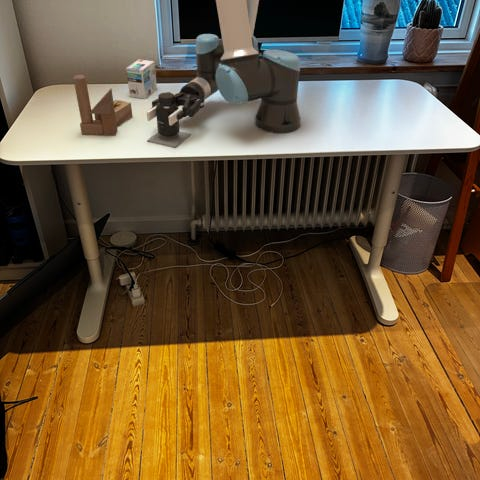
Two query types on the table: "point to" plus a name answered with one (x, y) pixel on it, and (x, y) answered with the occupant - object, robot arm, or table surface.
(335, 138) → the table surface
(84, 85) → the wooden block
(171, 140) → the felt pad
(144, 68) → the light bulb box
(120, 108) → the plane block
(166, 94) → the supplement bottle
